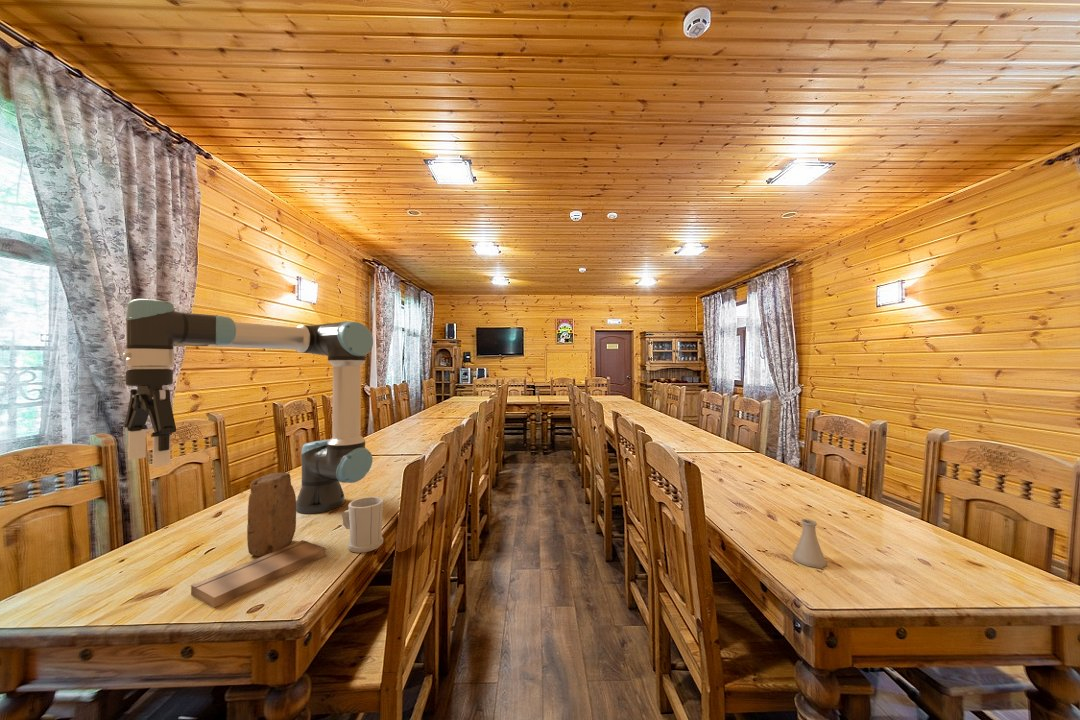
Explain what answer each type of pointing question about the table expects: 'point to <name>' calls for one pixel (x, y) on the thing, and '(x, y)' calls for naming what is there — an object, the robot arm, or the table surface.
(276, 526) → the brown pitted rock
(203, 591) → the board
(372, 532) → the cup
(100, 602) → the table surface
